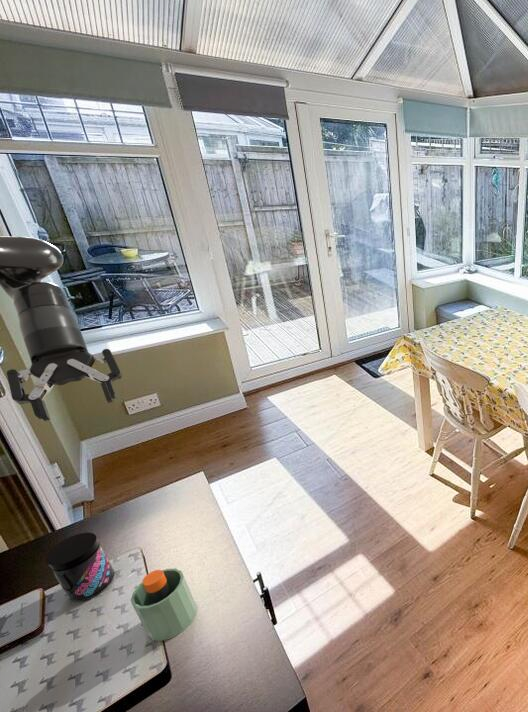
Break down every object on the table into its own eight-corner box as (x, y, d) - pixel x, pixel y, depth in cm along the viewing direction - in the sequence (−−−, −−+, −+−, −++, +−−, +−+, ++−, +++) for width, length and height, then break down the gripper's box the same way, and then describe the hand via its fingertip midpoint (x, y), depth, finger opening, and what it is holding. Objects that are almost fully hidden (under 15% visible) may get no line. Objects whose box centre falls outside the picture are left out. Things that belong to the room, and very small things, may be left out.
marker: (160, 628, 72) (140, 588, 68) (164, 613, 75) (144, 573, 70) (180, 621, 73) (161, 581, 69) (183, 607, 76) (165, 567, 71)
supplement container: (69, 611, 75) (44, 572, 71) (67, 585, 79) (44, 547, 75) (118, 586, 79) (98, 548, 75) (114, 562, 84) (95, 526, 79)
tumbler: (143, 648, 70) (125, 615, 66) (154, 610, 76) (137, 577, 72) (193, 629, 73) (178, 597, 69) (199, 594, 79) (186, 562, 75)
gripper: (-12, 336, 71) (15, 420, 69) (99, 316, 81) (126, 389, 78) (4, 353, 77) (30, 431, 74) (106, 332, 86) (132, 401, 84)
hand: (79, 410), depth 76 cm, fingers open, 8 cm apart
